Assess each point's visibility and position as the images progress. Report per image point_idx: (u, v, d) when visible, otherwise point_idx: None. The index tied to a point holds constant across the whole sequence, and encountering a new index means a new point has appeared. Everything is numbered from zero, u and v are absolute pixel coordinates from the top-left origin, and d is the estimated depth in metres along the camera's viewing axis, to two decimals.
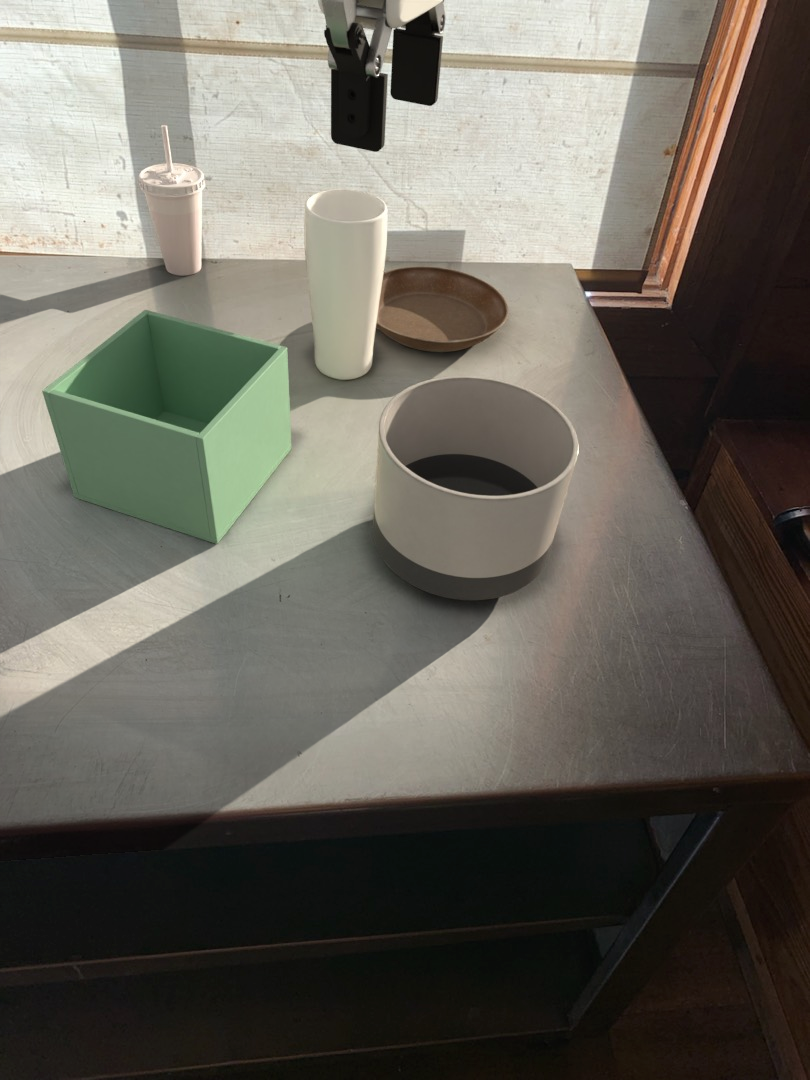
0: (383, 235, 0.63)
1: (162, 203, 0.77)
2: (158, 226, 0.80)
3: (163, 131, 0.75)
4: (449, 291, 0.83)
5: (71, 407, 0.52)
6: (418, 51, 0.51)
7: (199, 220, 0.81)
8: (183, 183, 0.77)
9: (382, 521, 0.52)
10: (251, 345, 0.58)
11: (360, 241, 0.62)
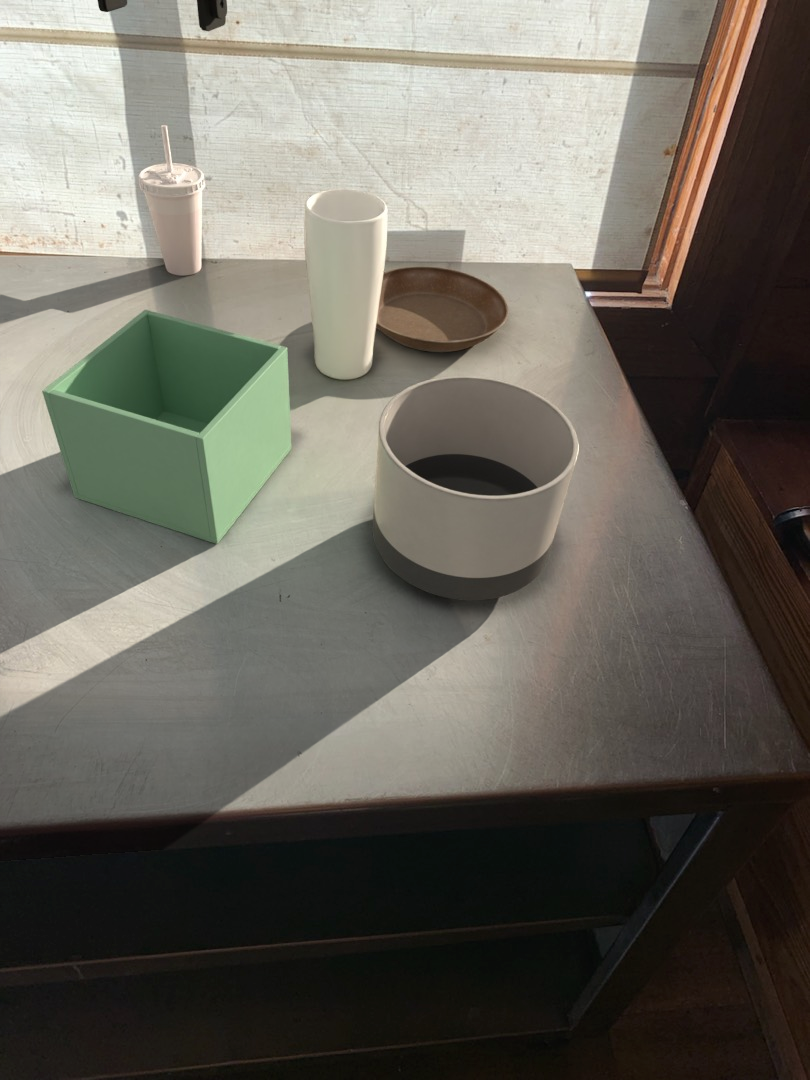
0: (383, 235, 0.63)
1: (161, 203, 0.77)
2: (158, 226, 0.80)
3: (163, 131, 0.75)
4: (449, 291, 0.83)
5: (71, 407, 0.52)
6: None
7: (199, 220, 0.81)
8: (183, 183, 0.77)
9: (382, 521, 0.52)
10: (251, 345, 0.58)
11: (360, 241, 0.62)
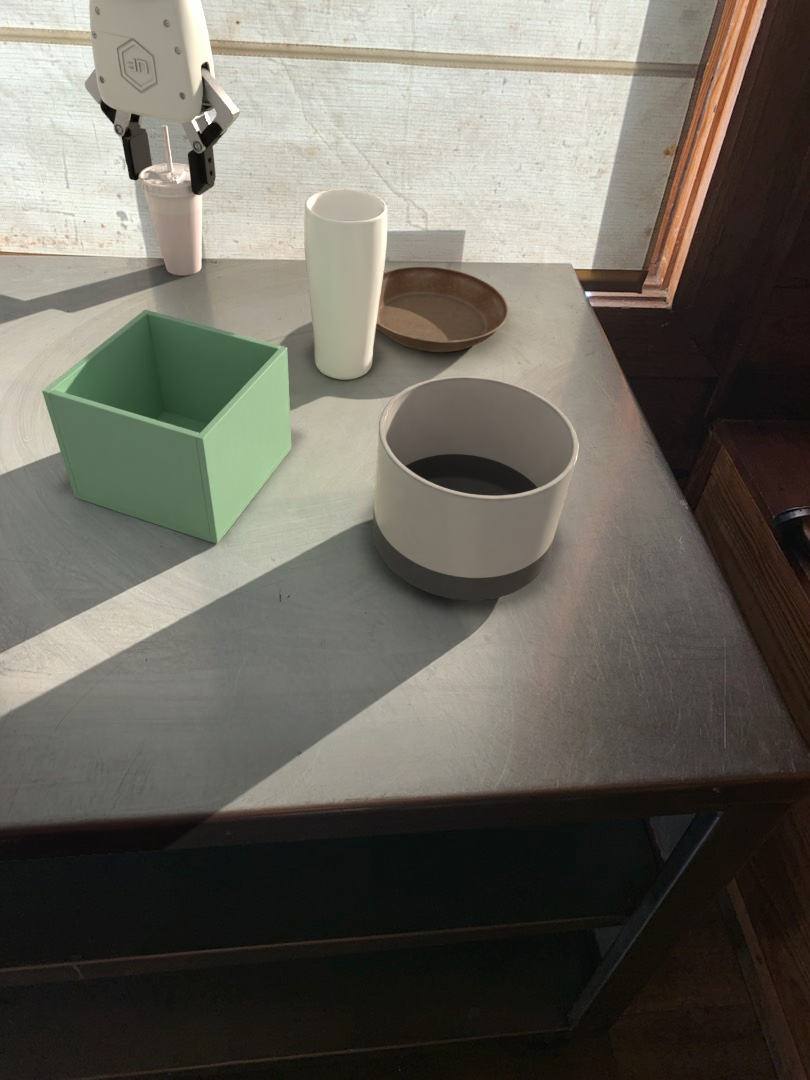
0: (383, 235, 0.63)
1: (162, 203, 0.77)
2: (158, 226, 0.80)
3: (163, 131, 0.75)
4: (449, 291, 0.83)
5: (71, 407, 0.52)
6: (141, 143, 0.77)
7: (199, 220, 0.81)
8: (183, 183, 0.77)
9: (382, 521, 0.52)
10: (251, 345, 0.58)
11: (360, 241, 0.62)
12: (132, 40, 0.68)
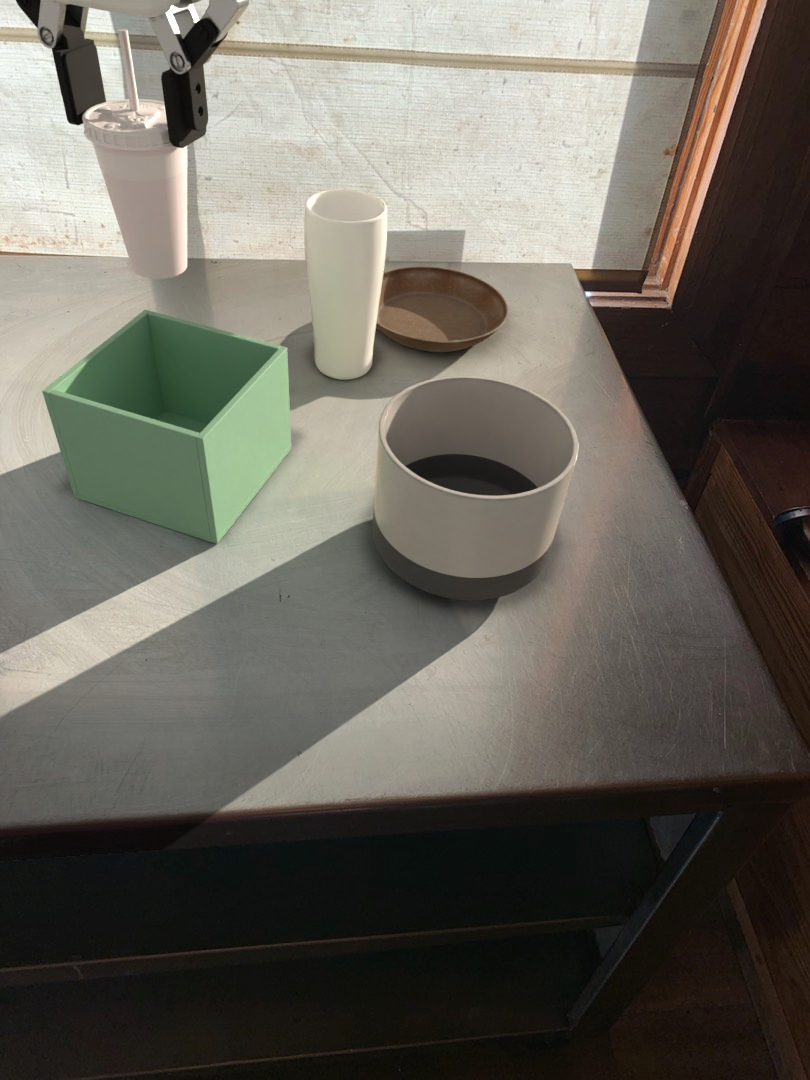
0: (383, 235, 0.63)
1: (121, 162, 0.47)
2: (116, 200, 0.50)
3: (122, 39, 0.45)
4: (449, 291, 0.83)
5: (71, 407, 0.52)
6: (86, 62, 0.47)
7: (183, 191, 0.51)
8: (155, 127, 0.47)
9: (382, 521, 0.52)
10: (251, 345, 0.58)
11: (360, 241, 0.62)
12: None
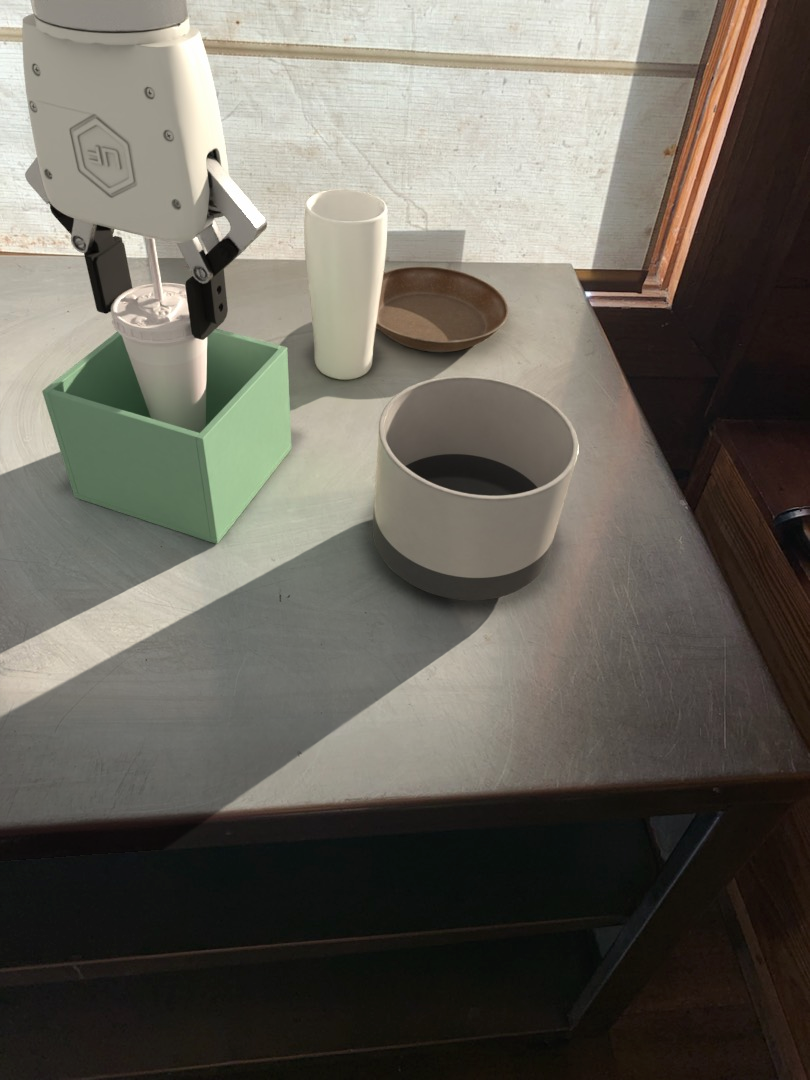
0: (383, 235, 0.63)
1: (146, 350, 0.51)
2: (141, 378, 0.53)
3: (148, 244, 0.49)
4: (449, 291, 0.83)
5: (71, 407, 0.52)
6: (114, 260, 0.51)
7: (203, 366, 0.54)
8: (179, 320, 0.51)
9: (382, 521, 0.52)
10: (251, 345, 0.58)
11: (360, 241, 0.62)
12: (94, 117, 0.41)
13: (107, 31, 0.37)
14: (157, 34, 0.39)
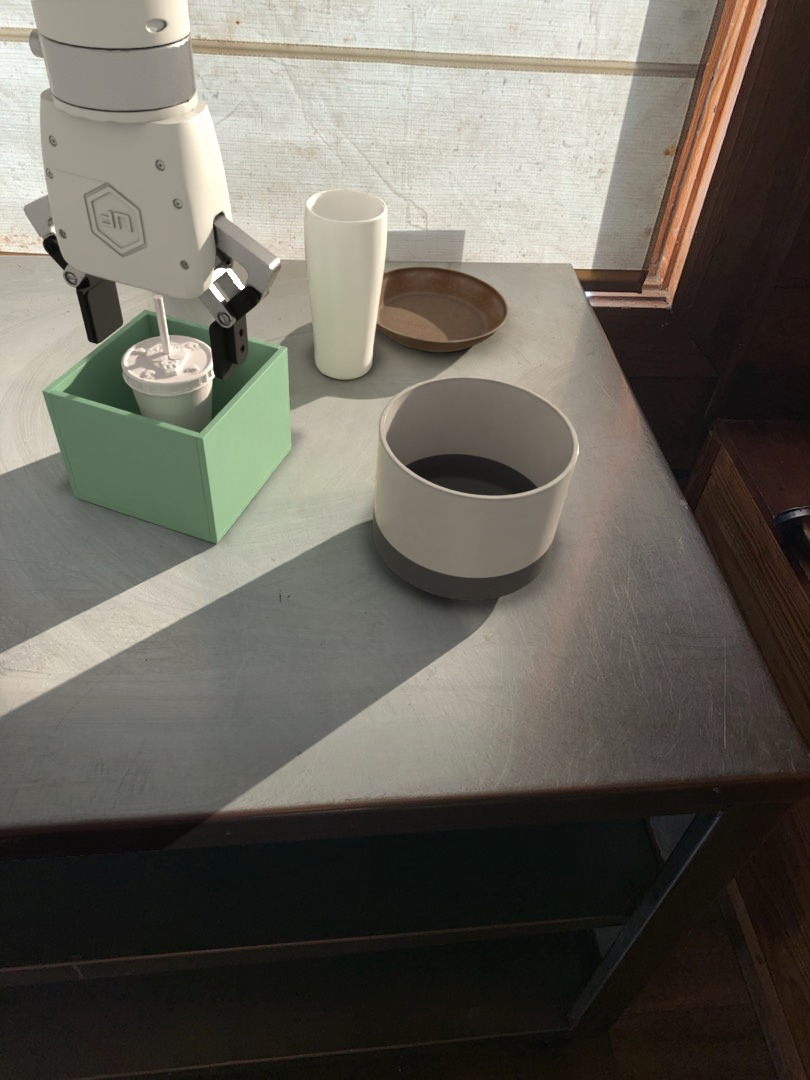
0: (383, 235, 0.63)
1: (155, 402, 0.54)
2: None
3: (157, 304, 0.52)
4: (449, 291, 0.83)
5: (71, 407, 0.52)
6: (105, 293, 0.53)
7: (208, 414, 0.57)
8: (185, 373, 0.53)
9: (382, 521, 0.52)
10: (251, 345, 0.58)
11: (360, 241, 0.62)
12: (107, 185, 0.44)
13: (121, 111, 0.40)
14: (167, 111, 0.41)
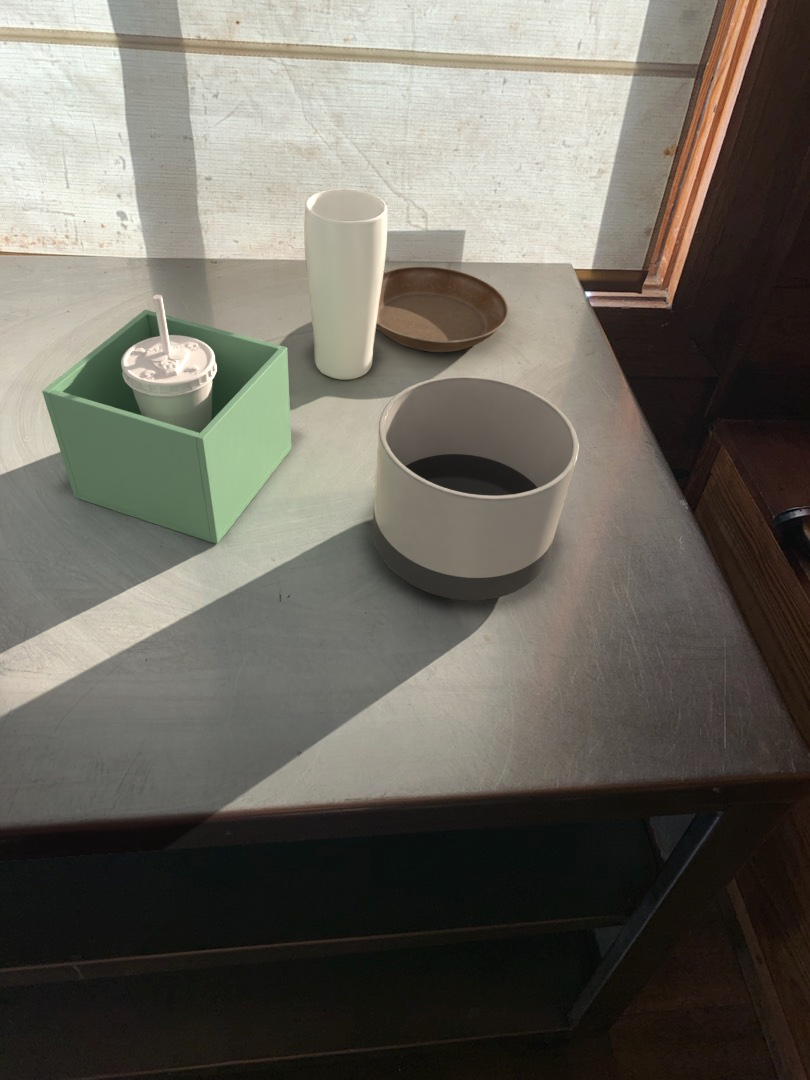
0: (383, 235, 0.63)
1: (155, 402, 0.54)
2: None
3: (157, 304, 0.52)
4: (449, 291, 0.83)
5: (71, 407, 0.52)
6: None
7: (208, 414, 0.57)
8: (185, 373, 0.53)
9: (382, 521, 0.52)
10: (251, 345, 0.58)
11: (360, 241, 0.62)
12: None
13: None
14: None
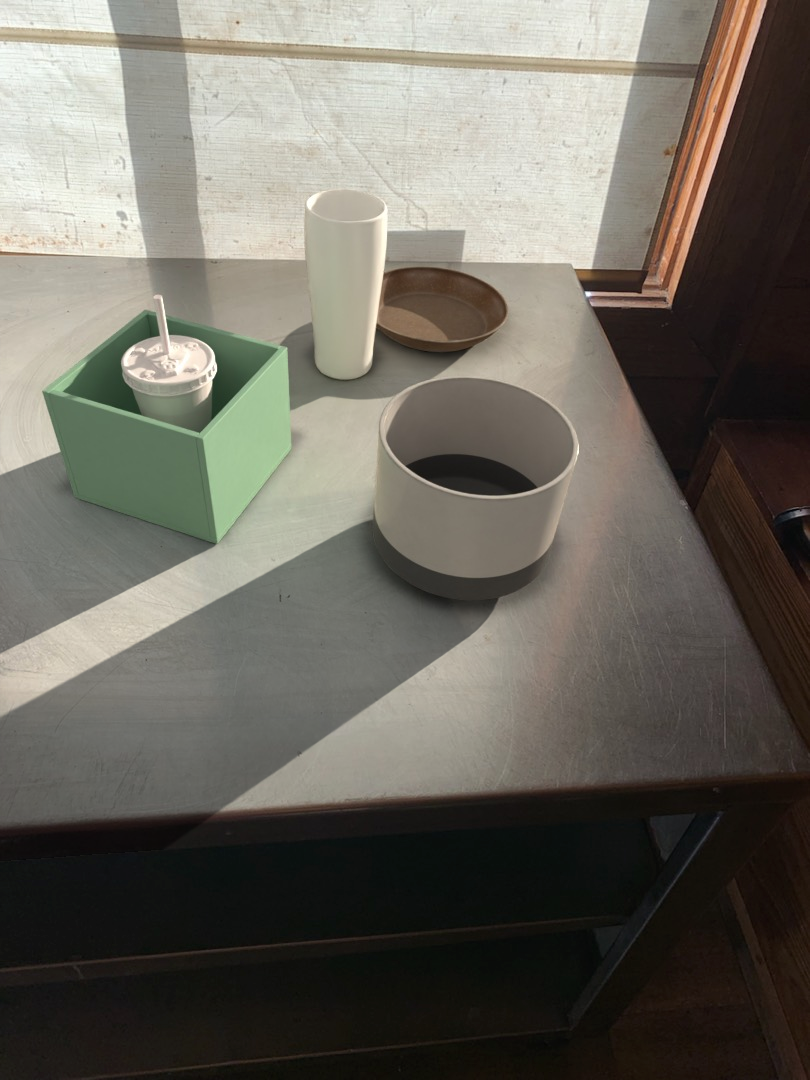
0: (383, 235, 0.63)
1: (155, 402, 0.54)
2: None
3: (157, 304, 0.52)
4: (449, 291, 0.83)
5: (71, 407, 0.52)
6: None
7: (208, 414, 0.57)
8: (185, 373, 0.53)
9: (382, 521, 0.52)
10: (251, 345, 0.58)
11: (360, 241, 0.62)
12: None
13: None
14: None
